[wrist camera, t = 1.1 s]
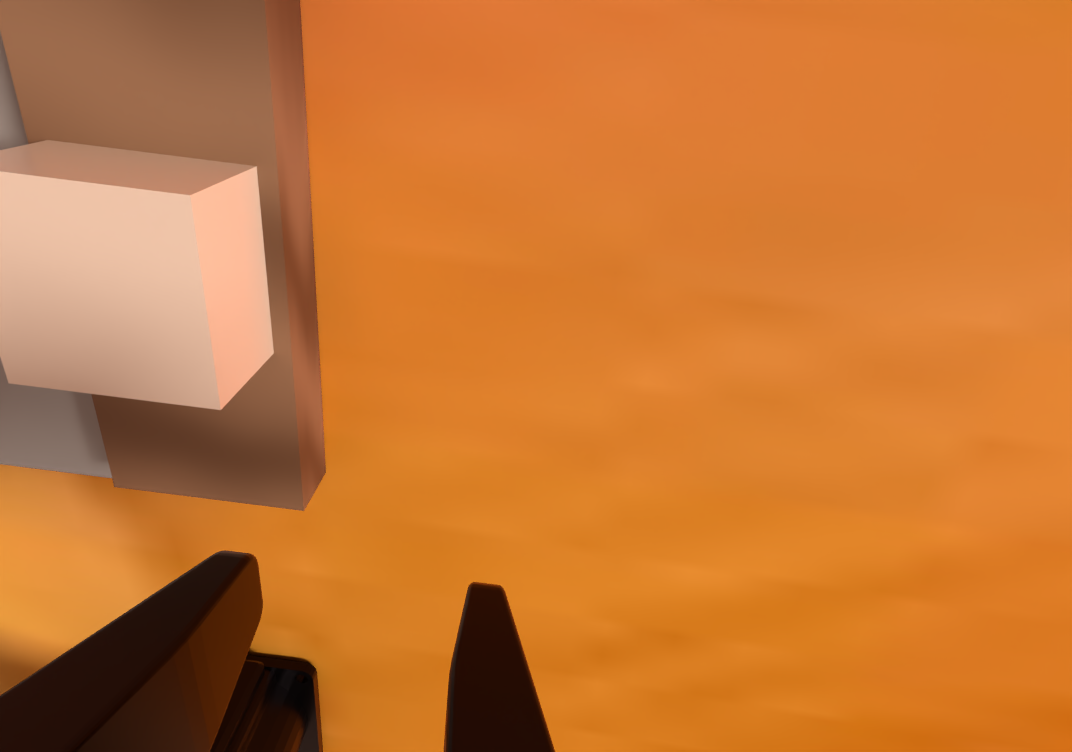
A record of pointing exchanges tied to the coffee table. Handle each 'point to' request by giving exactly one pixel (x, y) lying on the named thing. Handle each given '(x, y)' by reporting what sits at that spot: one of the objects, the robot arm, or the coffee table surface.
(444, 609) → the coffee table surface
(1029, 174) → the coffee table surface
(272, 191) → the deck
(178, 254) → the peach square block
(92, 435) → the mat
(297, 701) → the robot arm
